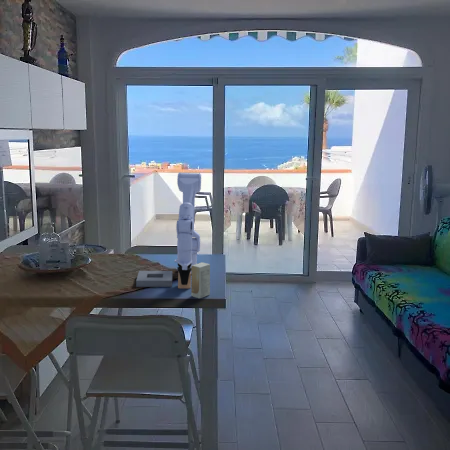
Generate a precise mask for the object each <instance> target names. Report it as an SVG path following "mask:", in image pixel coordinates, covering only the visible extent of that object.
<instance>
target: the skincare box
mask: <svg viewBox="0 0 450 450" xmlns="http://www.w3.org/2000/svg"><path fill="white" fill-rule="evenodd" d="M190 291H191V293H190V294H191V295H190V296H191V297H193V298H196V299H203V298H205V297H207V296H210V295H211V263H206V262H204V261H203V262H202V261H201V262H197V264H195V265H192V268H191V288H190Z"/></svg>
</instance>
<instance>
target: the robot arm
mask: <svg viewBox="0 0 450 450" xmlns="http://www.w3.org/2000/svg"><path fill="white" fill-rule="evenodd" d="M176 179H177V182H176V184H177V188H178V191H179V192H180V193H182V203H181V204H180V205H179V210H178V220H176V223H175V224H176V225H175V228H176V229H175V231H176V238H177V245H176V246H177V248H176V249H177V259H174V263H177V272H178V271H179V274H180V278H181V284H182V285H187V283H188V278H189V274H190V272H191V268H192V265H195V264H198V262H197V261H198V253H199V252H200V251H201V235H200V233H199V232H197V231H196V230H195V210H196V209H195V205H196V204H195V203H196V195H197V193H200V192H201V189H202V174H201V173H200V172H199V173H197V172H196V173H194V172H193V173H191V172H178V173H177V178H176Z"/></svg>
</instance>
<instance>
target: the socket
mask: <svg viewBox="0 0 450 450" xmlns="http://www.w3.org/2000/svg"><path fill="white" fill-rule="evenodd" d="M136 277H137V278H136V280H135V281H136V283H135V284H136V288H137V287H139V288H142V287H143V288H144V287H145V288H148V287H149V288H153V287H155V288H159V287H163V288H166V287H167V288H169V287H172V286H173V270H139V271H138V273H137V276H136Z"/></svg>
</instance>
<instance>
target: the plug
mask: <svg viewBox="0 0 450 450" xmlns="http://www.w3.org/2000/svg"><path fill="white" fill-rule="evenodd" d="M177 275H178V276H177V280H178V281H177V288H178V289H191V272H190V274H189V278H188V283H187V285H182V284H181V278H180V274H179V271H178V270H177Z"/></svg>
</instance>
